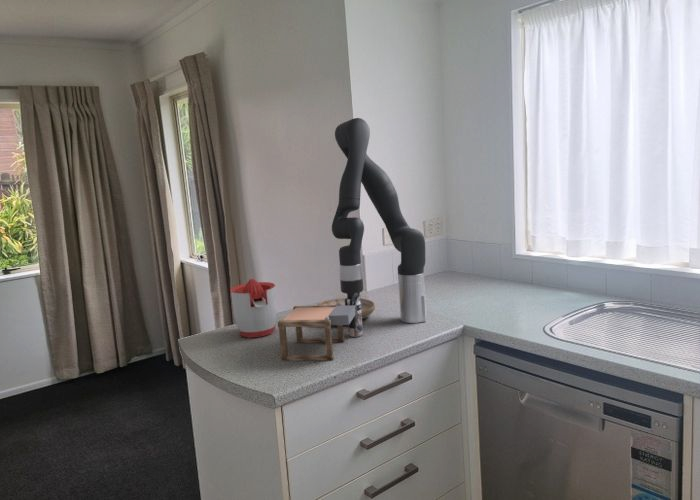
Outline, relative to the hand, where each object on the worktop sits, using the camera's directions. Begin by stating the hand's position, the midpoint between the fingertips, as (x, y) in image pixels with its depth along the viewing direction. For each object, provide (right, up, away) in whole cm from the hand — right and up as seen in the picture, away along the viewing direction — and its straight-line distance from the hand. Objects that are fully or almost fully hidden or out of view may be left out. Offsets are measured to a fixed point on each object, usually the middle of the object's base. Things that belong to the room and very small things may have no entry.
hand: (354, 324), depth 186 cm
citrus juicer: (-34, -5, +10) cm, 36 cm away
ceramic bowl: (-3, -1, +22) cm, 23 cm away
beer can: (+1, -4, 0) cm, 4 cm away
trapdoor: (-11, +3, -13) cm, 17 cm away
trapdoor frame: (-13, -7, -11) cm, 18 cm away
